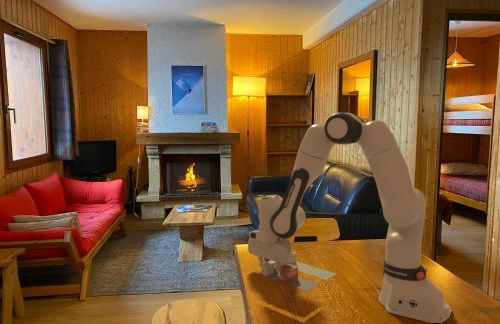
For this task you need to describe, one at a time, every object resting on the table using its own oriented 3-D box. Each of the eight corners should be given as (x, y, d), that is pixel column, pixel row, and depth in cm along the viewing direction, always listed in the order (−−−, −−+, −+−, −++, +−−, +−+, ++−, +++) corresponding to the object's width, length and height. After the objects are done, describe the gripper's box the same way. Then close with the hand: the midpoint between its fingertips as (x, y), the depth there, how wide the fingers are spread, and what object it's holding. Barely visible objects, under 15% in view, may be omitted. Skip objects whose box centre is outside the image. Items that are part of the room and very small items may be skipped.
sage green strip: (336, 276, 154) (337, 264, 153) (326, 282, 148) (326, 269, 147) (291, 262, 168) (291, 251, 168) (280, 267, 162) (280, 256, 162)
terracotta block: (298, 279, 149) (298, 266, 148) (290, 283, 145) (290, 270, 144) (287, 275, 152) (287, 263, 151) (279, 279, 148) (279, 266, 148)
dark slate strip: (319, 286, 144) (319, 273, 144) (307, 294, 138) (307, 280, 138) (272, 271, 159) (272, 259, 158) (260, 277, 153) (260, 264, 152)
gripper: (296, 239, 148) (295, 274, 150) (255, 228, 162) (255, 261, 163) (286, 243, 144) (285, 279, 145) (245, 232, 157) (245, 265, 159)
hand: (269, 269), depth 154 cm, fingers open, 5 cm apart
